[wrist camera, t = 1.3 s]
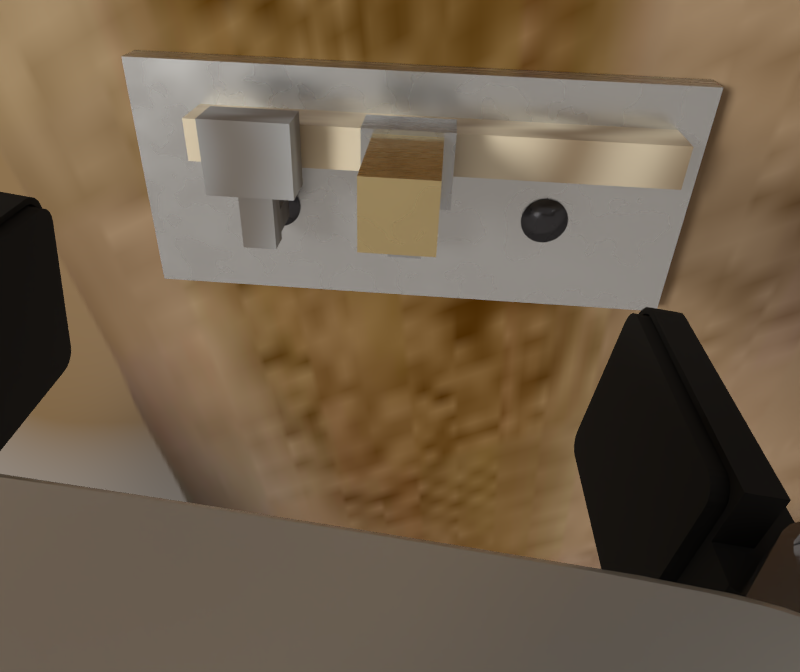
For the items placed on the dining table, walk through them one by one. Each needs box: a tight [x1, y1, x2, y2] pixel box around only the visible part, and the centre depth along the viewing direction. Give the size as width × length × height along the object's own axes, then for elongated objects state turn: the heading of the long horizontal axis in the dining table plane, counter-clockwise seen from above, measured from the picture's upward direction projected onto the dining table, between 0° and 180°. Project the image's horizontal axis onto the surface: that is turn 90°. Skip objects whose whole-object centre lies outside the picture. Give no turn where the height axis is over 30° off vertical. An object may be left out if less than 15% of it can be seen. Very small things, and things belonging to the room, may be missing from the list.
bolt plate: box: [121, 50, 723, 310], centre depth 34 cm, size 28×12×2 cm, turn 88°
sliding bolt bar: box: [182, 104, 693, 249], centre depth 31 cm, size 23×6×5 cm, turn 88°
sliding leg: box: [357, 115, 457, 259], centre depth 28 cm, size 4×6×9 cm, turn 178°
